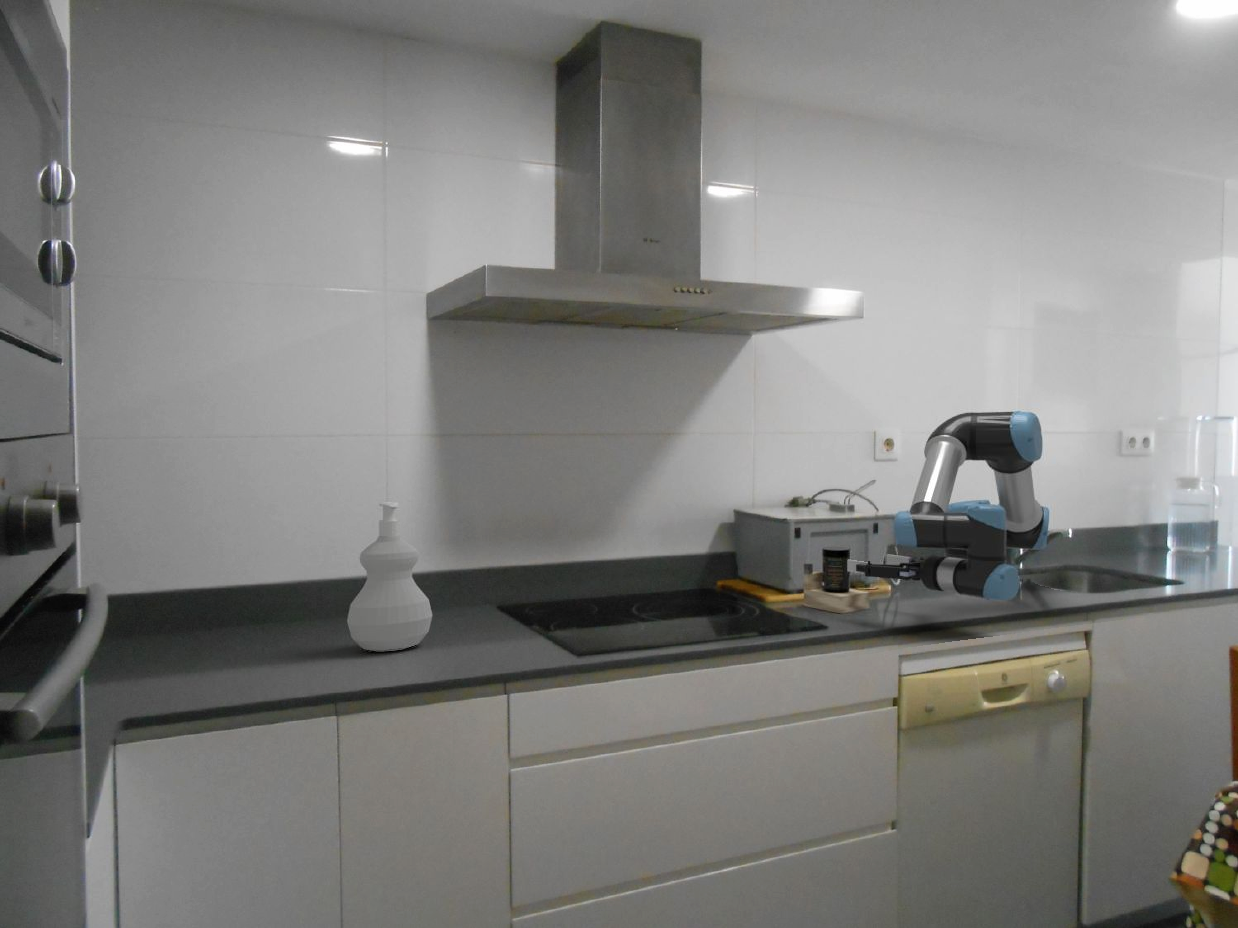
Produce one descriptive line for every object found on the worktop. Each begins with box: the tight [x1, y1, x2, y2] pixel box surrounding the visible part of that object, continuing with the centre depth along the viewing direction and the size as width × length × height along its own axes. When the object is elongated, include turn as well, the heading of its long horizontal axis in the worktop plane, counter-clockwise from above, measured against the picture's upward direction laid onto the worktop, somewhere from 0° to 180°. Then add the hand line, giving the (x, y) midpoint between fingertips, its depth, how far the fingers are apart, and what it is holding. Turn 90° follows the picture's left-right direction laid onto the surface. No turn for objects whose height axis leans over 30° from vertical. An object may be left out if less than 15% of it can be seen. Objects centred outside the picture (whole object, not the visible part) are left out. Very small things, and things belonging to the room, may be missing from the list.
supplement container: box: [821, 546, 851, 593], centre depth 221 cm, size 7×7×10 cm
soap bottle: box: [346, 501, 433, 650], centre depth 181 cm, size 17×12×29 cm
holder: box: [803, 562, 871, 614], centre depth 221 cm, size 10×12×10 cm
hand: (868, 562), depth 213 cm, fingers open, 13 cm apart
